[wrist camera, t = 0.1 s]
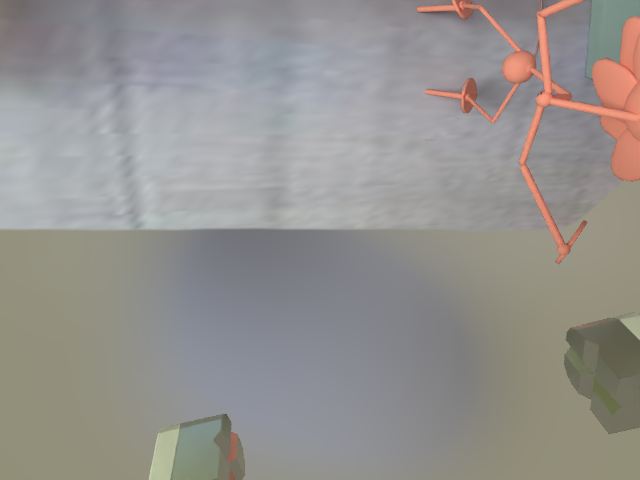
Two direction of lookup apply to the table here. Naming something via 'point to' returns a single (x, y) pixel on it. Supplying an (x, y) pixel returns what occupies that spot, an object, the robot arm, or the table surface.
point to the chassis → (608, 29)
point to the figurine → (569, 97)
